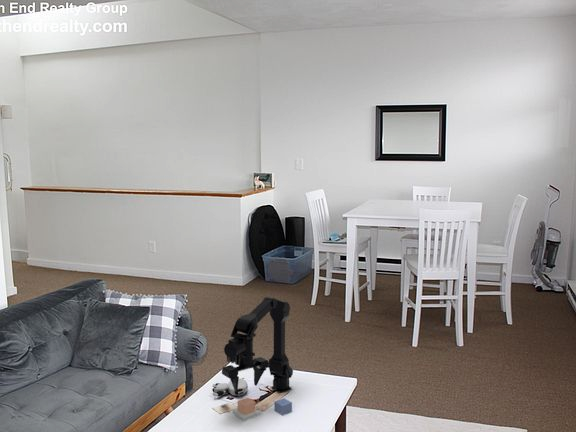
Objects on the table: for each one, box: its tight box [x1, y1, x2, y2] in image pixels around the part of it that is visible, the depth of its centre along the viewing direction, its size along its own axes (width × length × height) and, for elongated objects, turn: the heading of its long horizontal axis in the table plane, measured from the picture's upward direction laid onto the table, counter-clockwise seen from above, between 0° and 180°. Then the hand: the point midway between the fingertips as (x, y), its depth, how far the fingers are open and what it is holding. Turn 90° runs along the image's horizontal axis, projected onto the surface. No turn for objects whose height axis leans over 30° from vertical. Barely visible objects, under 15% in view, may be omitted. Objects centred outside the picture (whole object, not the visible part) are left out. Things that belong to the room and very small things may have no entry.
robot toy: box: [212, 377, 248, 397], centre depth 245 cm, size 12×4×15 cm
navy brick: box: [273, 398, 293, 416], centre depth 229 cm, size 5×5×4 cm
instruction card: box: [212, 401, 238, 415], centre depth 231 cm, size 9×6×1 cm, turn 128°
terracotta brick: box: [237, 397, 256, 415], centre depth 226 cm, size 5×5×4 cm
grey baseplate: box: [231, 408, 261, 421], centre depth 227 cm, size 8×8×1 cm
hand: (245, 388), depth 225 cm, fingers open, 9 cm apart
